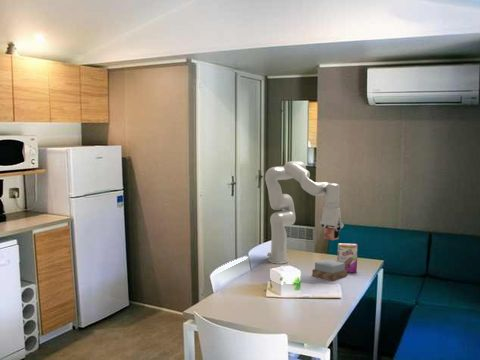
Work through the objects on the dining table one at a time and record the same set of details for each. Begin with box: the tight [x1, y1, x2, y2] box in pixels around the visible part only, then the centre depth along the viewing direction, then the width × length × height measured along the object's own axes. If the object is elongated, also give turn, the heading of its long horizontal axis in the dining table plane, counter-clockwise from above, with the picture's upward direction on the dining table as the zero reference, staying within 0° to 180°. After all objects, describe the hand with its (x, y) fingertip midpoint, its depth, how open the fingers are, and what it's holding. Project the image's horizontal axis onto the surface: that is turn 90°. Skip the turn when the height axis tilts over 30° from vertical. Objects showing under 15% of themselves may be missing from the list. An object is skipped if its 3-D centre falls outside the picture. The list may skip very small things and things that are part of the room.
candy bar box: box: [337, 242, 359, 274], centre depth 276 cm, size 11×5×16 cm, turn 84°
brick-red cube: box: [323, 226, 339, 241], centre depth 265 cm, size 6×6×6 cm
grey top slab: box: [314, 258, 345, 274], centre depth 267 cm, size 12×12×4 cm
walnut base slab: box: [311, 268, 348, 282], centre depth 267 cm, size 14×14×4 cm
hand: (331, 236), depth 265 cm, fingers closed on brick-red cube, 6 cm apart
